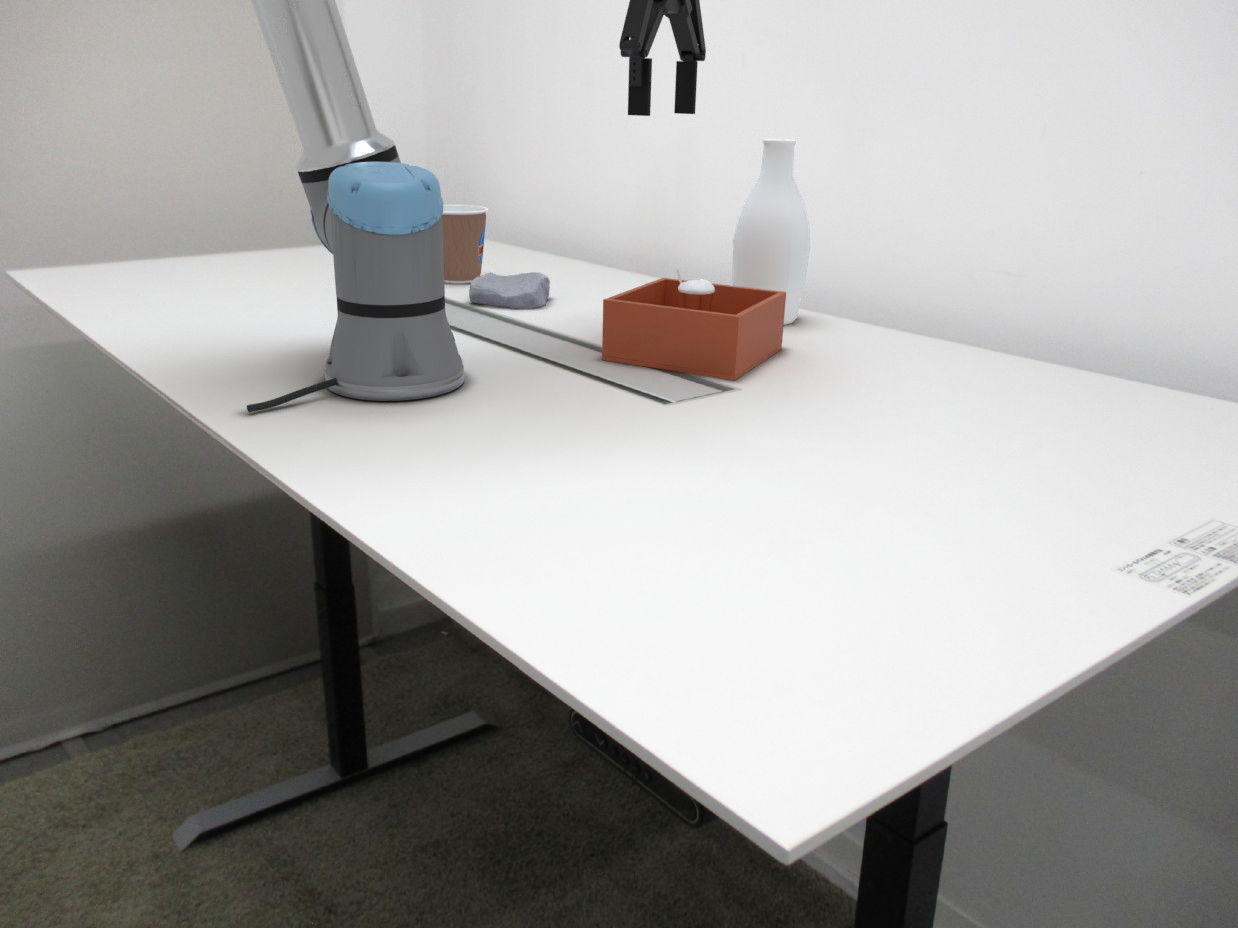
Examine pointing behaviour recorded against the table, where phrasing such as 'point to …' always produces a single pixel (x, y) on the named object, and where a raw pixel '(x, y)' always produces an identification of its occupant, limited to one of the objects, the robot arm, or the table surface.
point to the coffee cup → (463, 242)
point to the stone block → (511, 290)
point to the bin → (693, 329)
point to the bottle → (773, 230)
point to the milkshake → (696, 294)
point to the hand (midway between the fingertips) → (662, 115)
